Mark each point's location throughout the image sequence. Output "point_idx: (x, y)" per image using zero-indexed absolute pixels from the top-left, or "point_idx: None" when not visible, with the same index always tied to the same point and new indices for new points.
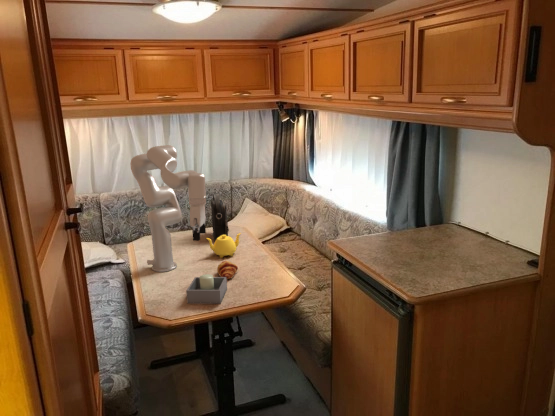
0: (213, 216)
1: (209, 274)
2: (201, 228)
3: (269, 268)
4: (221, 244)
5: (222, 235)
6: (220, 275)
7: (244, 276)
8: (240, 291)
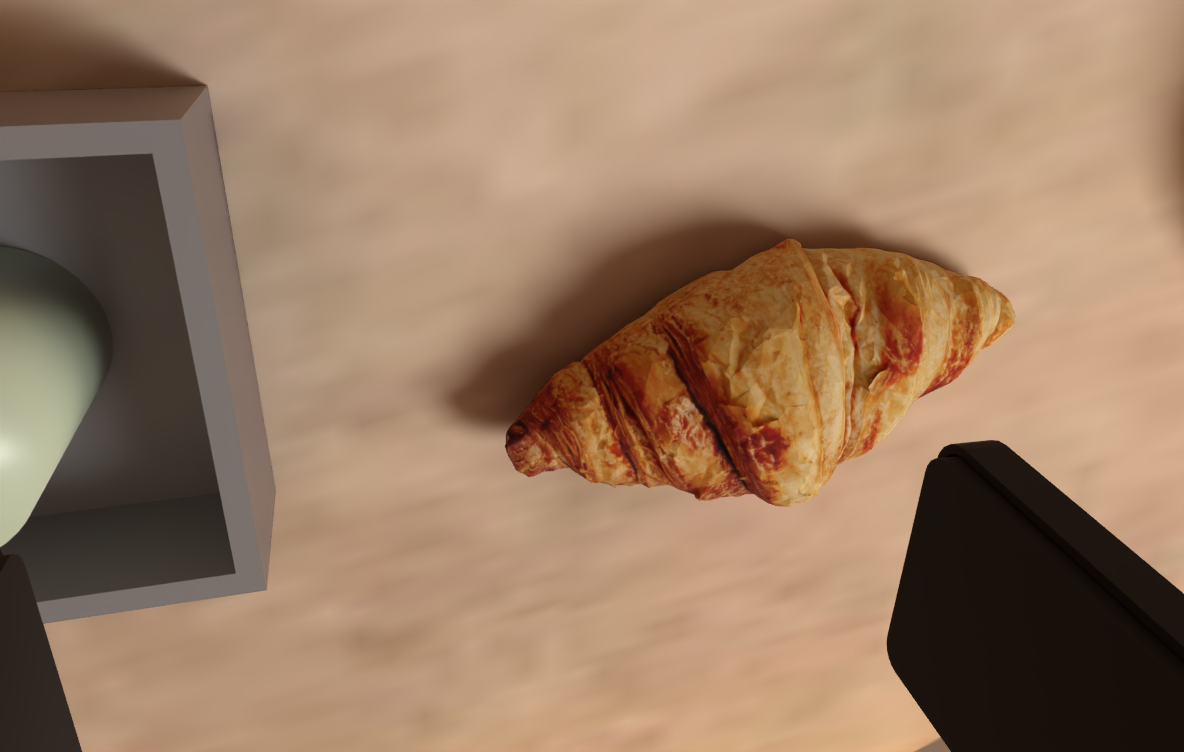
0: None
1: (35, 480)
2: (1048, 706)
3: (839, 705)
4: None
5: None
6: (620, 332)
7: (654, 555)
8: (240, 637)
